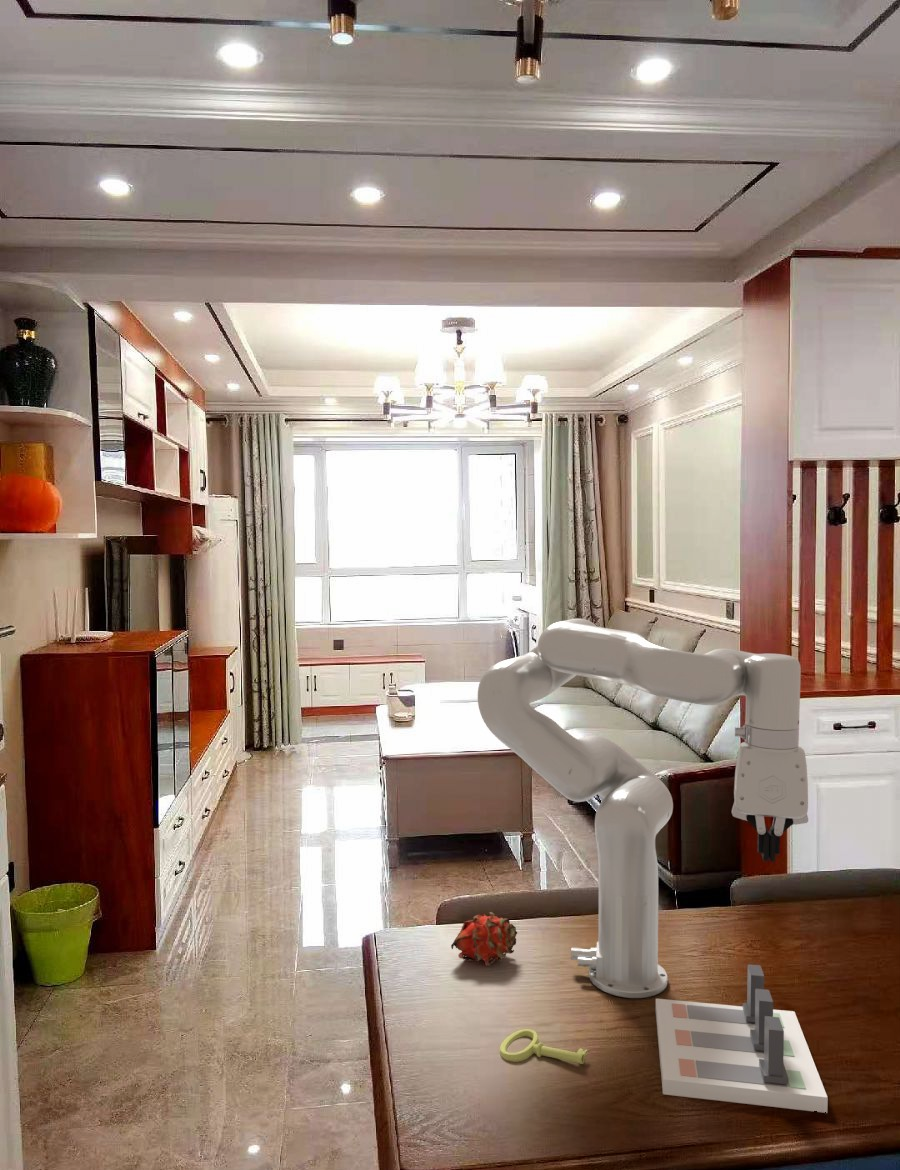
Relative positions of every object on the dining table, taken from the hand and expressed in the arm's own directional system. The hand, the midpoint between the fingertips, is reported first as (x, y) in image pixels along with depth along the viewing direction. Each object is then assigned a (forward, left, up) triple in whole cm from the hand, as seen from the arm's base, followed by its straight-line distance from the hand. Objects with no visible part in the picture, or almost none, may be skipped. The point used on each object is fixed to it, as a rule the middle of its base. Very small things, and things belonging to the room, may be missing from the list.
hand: (768, 858), depth 128 cm
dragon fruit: (-44, +9, -24) cm, 51 cm away
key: (-33, -16, -25) cm, 44 cm away
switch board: (-6, -12, -24) cm, 28 cm away
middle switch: (-2, -12, -22) cm, 25 cm away
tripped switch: (-2, -19, -22) cm, 29 cm away
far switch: (-2, -5, -22) cm, 22 cm away
